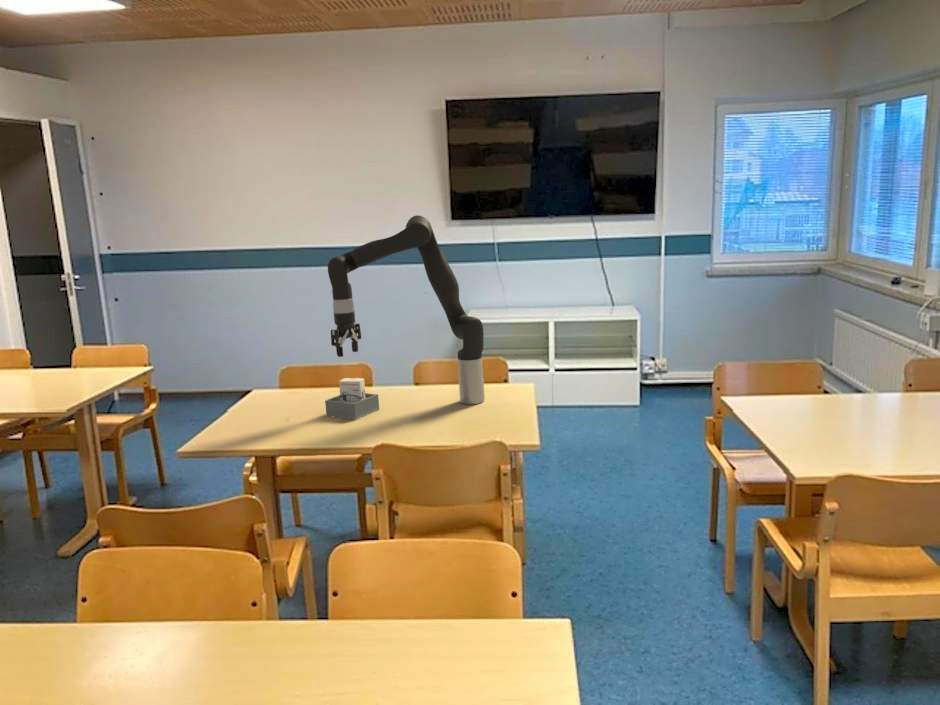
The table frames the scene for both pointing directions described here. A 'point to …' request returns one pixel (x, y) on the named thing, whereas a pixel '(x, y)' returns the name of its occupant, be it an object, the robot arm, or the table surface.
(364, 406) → the grey bin
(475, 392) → the robot arm
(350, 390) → the ink box
